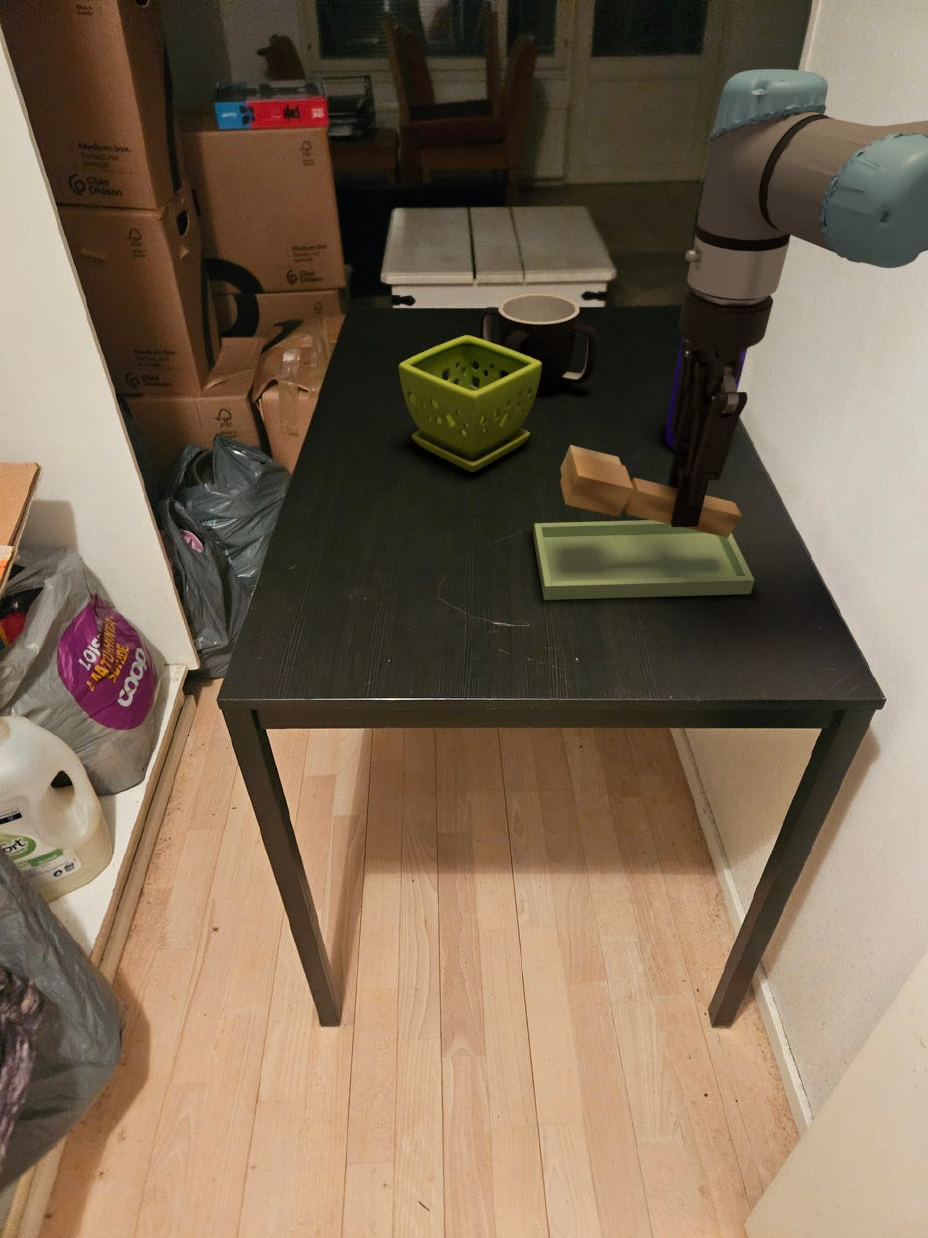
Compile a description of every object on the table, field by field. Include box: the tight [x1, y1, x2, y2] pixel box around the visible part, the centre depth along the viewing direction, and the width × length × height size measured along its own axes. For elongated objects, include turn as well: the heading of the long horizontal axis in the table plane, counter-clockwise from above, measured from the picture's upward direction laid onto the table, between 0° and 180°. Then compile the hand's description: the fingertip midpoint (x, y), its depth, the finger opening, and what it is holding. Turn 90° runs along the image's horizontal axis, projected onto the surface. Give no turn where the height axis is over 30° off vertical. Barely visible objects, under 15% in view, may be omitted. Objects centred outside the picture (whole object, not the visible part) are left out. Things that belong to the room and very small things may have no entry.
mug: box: [479, 293, 600, 395], centre depth 118 cm, size 16×16×12 cm
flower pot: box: [398, 334, 542, 473], centre depth 103 cm, size 14×14×13 cm
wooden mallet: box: [559, 444, 742, 538], centre depth 81 cm, size 19×7×4 cm, turn 92°
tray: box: [533, 519, 755, 601], centre depth 87 cm, size 23×12×2 cm, turn 92°
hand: (680, 515), depth 82 cm, fingers closed on wooden mallet, 3 cm apart
